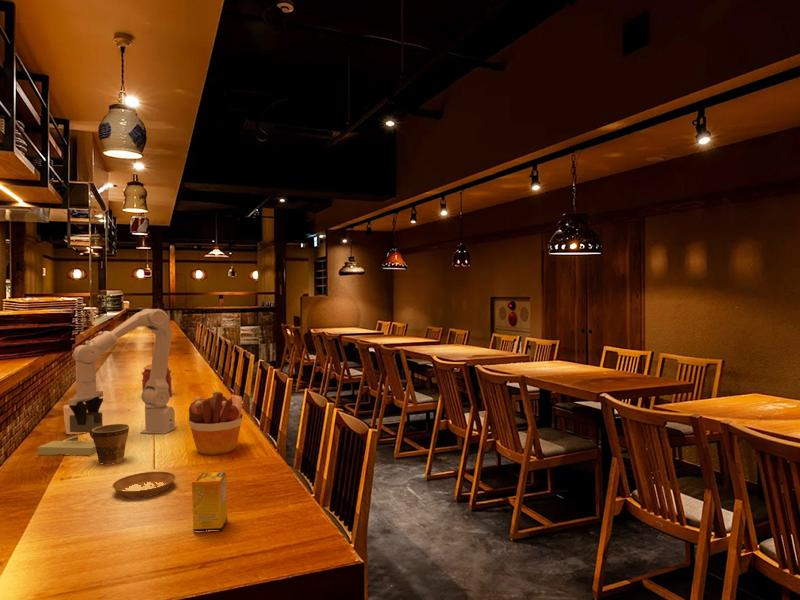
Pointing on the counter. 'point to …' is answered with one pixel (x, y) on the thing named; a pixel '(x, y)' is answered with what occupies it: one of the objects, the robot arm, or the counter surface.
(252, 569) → the counter surface
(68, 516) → the counter surface
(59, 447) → the tan bracket
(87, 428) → the chute
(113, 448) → the ceramic cup
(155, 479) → the plant saucer
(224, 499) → the supplement box
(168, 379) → the canister
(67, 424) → the white cup
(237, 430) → the bucket of meat
